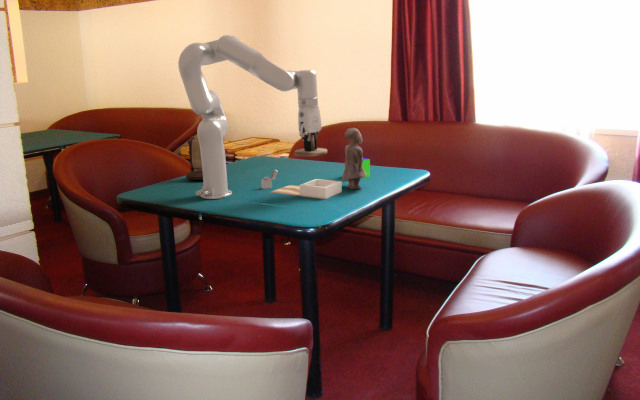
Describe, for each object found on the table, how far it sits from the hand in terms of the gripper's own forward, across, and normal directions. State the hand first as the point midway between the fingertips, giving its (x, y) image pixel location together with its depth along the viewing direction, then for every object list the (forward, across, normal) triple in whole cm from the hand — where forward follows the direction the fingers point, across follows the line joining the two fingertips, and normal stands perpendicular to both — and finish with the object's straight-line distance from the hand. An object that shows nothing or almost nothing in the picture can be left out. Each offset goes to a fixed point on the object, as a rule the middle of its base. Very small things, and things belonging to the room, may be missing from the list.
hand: (310, 149), depth 222 cm
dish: (+18, -1, -4) cm, 18 cm away
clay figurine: (+19, +15, -10) cm, 26 cm away
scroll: (+17, +5, +64) cm, 66 cm away
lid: (+2, 0, 0) cm, 2 cm away
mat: (+18, 0, +10) cm, 20 cm away
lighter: (+18, +1, +22) cm, 28 cm away
